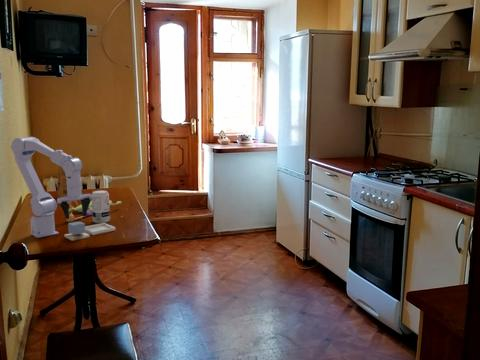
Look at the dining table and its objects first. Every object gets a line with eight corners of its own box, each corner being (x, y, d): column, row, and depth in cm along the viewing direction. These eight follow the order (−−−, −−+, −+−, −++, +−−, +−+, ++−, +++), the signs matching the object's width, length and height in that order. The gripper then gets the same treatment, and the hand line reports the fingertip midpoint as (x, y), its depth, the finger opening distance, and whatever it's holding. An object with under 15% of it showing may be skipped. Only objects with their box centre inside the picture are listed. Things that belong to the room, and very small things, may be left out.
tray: (92, 235, 202) (92, 231, 202) (81, 230, 210) (81, 227, 210) (115, 230, 210) (115, 227, 210) (104, 225, 218) (103, 222, 217)
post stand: (72, 240, 194) (71, 229, 194) (64, 236, 200) (63, 225, 199) (89, 237, 200) (89, 225, 199) (82, 233, 206) (81, 222, 205)
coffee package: (57, 197, 284) (54, 162, 280) (78, 195, 289) (76, 161, 285) (58, 200, 275) (56, 164, 271) (80, 198, 280) (78, 162, 277)
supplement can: (92, 220, 228) (90, 190, 226) (109, 218, 231) (108, 189, 228) (93, 224, 221) (91, 193, 218) (110, 222, 223) (109, 192, 221)
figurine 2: (125, 210, 252) (124, 200, 251) (78, 218, 234) (77, 207, 233) (109, 204, 265) (108, 195, 264) (63, 212, 247) (63, 201, 246)
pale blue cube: (73, 234, 196) (73, 225, 195) (68, 231, 200) (67, 223, 200) (85, 232, 200) (84, 223, 199) (79, 229, 204) (79, 221, 203)
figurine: (61, 223, 222) (59, 199, 220) (62, 220, 228) (60, 196, 226) (79, 222, 225) (77, 198, 223) (79, 219, 230) (78, 195, 228)
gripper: (61, 189, 188) (63, 221, 191) (94, 185, 198) (95, 215, 201) (54, 187, 194) (56, 218, 196) (86, 183, 203) (88, 213, 206)
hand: (76, 217), depth 199 cm, fingers open, 7 cm apart
